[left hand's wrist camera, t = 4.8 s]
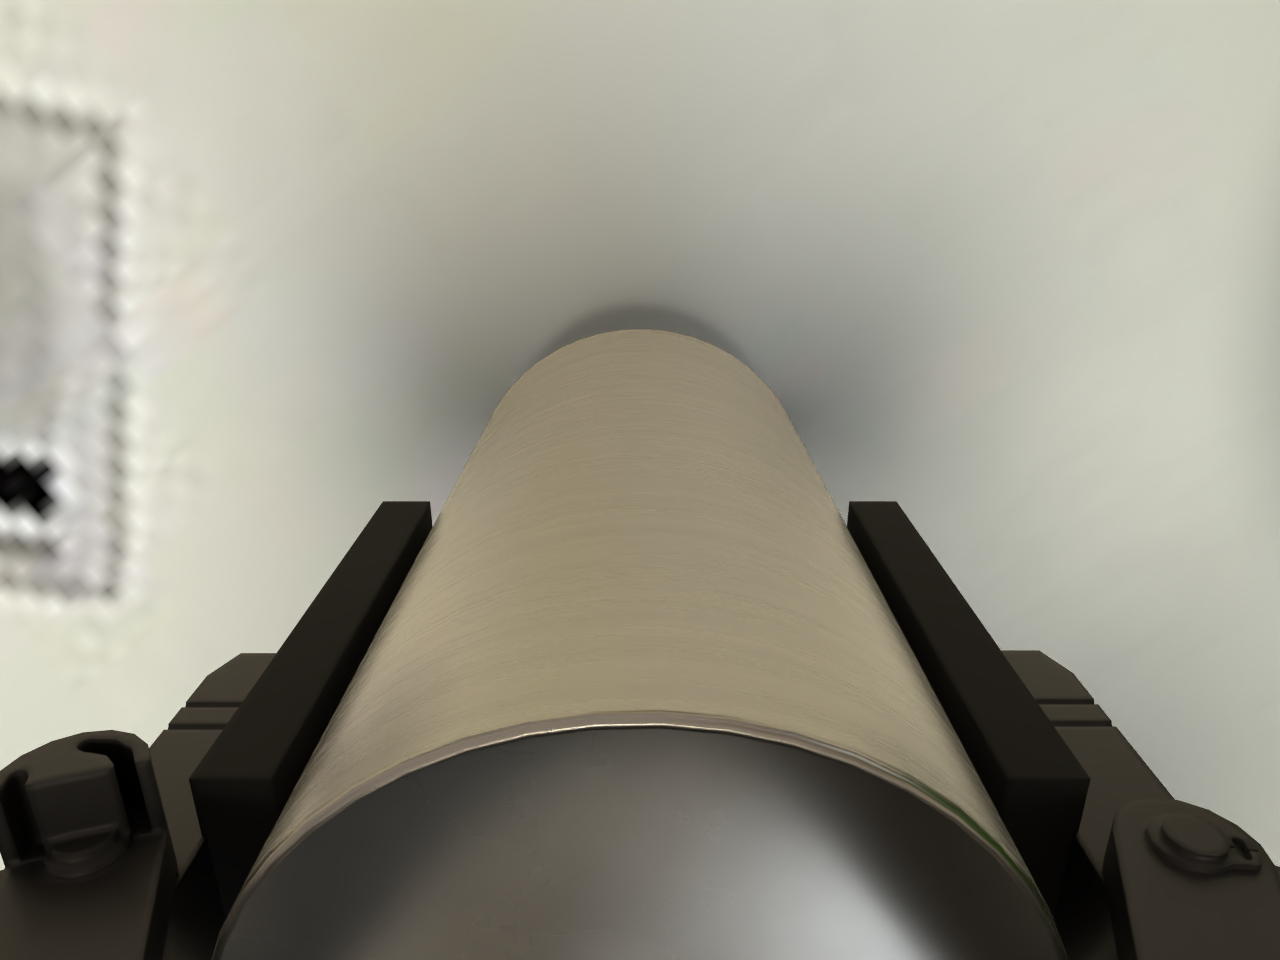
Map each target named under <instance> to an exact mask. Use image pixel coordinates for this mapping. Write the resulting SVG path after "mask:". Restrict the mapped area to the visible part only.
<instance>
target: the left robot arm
mask: <svg viewBox="0 0 1280 960" xmlns="http://www.w3.org/2000/svg"><path fill="white" fill-rule="evenodd" d="M847 528H848V530H849V532H850V534H851V536H852V538H853V539H854V541H855V543H856V545H857V547H858V549H859V551H860V553H861V555H862V556H863V558H864V560H865V562H866V564H867V566H868V568H869V570H870V572H871V573H872V575H873V577H874V579H875V581H876V583H877V585H878V587H879V589H880V590H881V592H882V594H883V596H884V598H885V600H886V602H887V604H888V606H889V607H890V609H891V611H892V613H893V615H894V617H895V619H896V621H897V623H898V624H899V626H900V628H901V630H902V632H903V634H904V636H905V638H906V640H907V641H908V643H909V645H910V647H911V649H912V651H913V653H914V655H915V657H916V658H917V660H918V662H919V664H920V666H921V668H922V670H923V672H924V674H925V675H926V677H927V679H928V681H929V683H930V685H931V687H932V689H933V691H934V692H935V694H936V696H937V698H938V700H939V702H940V704H941V706H942V708H943V709H944V711H945V713H946V715H947V717H948V719H949V721H950V723H951V725H952V726H953V728H954V730H955V732H956V734H957V736H958V738H959V740H960V742H961V743H962V745H963V747H964V749H965V751H966V753H967V755H968V757H969V759H970V760H971V762H972V764H973V766H974V768H975V770H976V772H977V774H978V776H979V777H980V779H981V781H982V783H983V785H984V787H985V789H986V791H987V793H988V794H989V796H990V798H991V800H992V802H993V804H994V806H995V808H996V810H997V811H998V813H999V815H1000V817H1001V819H1002V821H1003V823H1004V825H1005V827H1006V828H1007V830H1008V832H1009V834H1010V836H1011V838H1012V840H1013V842H1014V844H1015V845H1016V847H1017V849H1018V851H1019V853H1020V855H1021V857H1022V859H1023V861H1024V862H1025V864H1026V866H1027V868H1028V870H1029V872H1030V874H1031V876H1032V878H1033V879H1034V881H1035V883H1036V885H1037V887H1038V889H1039V891H1040V893H1041V895H1042V896H1043V898H1044V900H1045V902H1046V904H1047V906H1048V908H1049V910H1050V912H1051V913H1052V915H1053V917H1054V919H1055V922H1056V925H1057V928H1058V931H1059V933H1060V936H1061V939H1062V942H1063V945H1064V947H1065V950H1066V953H1067V956H1068V959H1069V960H1280V867H1278V866H1275V865H1274V864H1273V862H1272V861H1271V859H1270V858H1269V856H1268V855H1267V853H1266V852H1265V850H1264V849H1263V848H1262V846H1261V845H1260V844H1259V843H1258V842H1257V841H1255V840H1254V839H1253V838H1252V837H1251V836H1249V835H1248V834H1247V833H1246V832H1245V831H1243V830H1242V829H1241V828H1240V827H1239V826H1237V825H1236V824H1234V823H1232V822H1230V821H1228V820H1226V819H1224V818H1223V817H1221V816H1219V815H1217V814H1215V813H1213V812H1211V811H1209V810H1207V809H1204V808H1201V807H1198V806H1195V805H1192V804H1188V803H1185V802H1182V801H1179V800H1175V799H1174V798H1173V797H1172V796H1171V794H1170V793H1169V792H1168V791H1167V789H1166V788H1165V787H1164V786H1163V784H1162V783H1161V782H1160V781H1159V779H1158V778H1157V777H1156V776H1155V774H1154V773H1153V772H1152V771H1151V770H1150V768H1149V767H1148V766H1147V765H1146V763H1145V762H1144V761H1143V760H1142V758H1141V757H1140V756H1139V755H1138V753H1137V752H1136V751H1135V750H1134V748H1133V747H1132V746H1131V745H1130V743H1129V742H1128V741H1127V740H1126V738H1125V737H1124V736H1123V735H1122V734H1121V732H1120V731H1119V730H1118V729H1117V727H1112V724H1111V722H1112V721H1111V720H1110V719H1109V717H1108V716H1107V715H1106V714H1105V712H1104V711H1103V710H1102V709H1101V707H1100V706H1099V705H1095V704H1094V699H1093V698H1092V696H1091V695H1090V694H1089V693H1088V691H1087V690H1086V689H1085V688H1084V686H1083V685H1082V684H1081V683H1080V681H1079V680H1078V679H1077V678H1076V676H1075V675H1074V674H1073V673H1072V672H1070V671H1069V670H1067V669H1066V668H1064V667H1063V666H1061V665H1060V664H1058V663H1057V662H1055V661H1054V660H1052V659H1051V658H1049V657H1048V656H1046V655H1045V654H1043V653H1042V652H1040V651H1001V650H1000V649H999V647H998V646H997V644H996V643H995V642H994V640H993V639H992V637H991V636H990V634H989V633H988V632H987V630H986V629H985V627H984V626H983V624H982V623H981V622H980V620H979V619H978V617H977V616H976V614H975V613H974V612H973V610H972V609H971V607H970V606H969V604H968V603H967V602H966V600H965V599H964V597H963V596H962V594H961V593H960V592H959V590H958V589H957V587H956V586H955V584H954V583H953V582H952V580H951V579H950V577H949V576H948V574H947V573H946V572H945V570H944V569H943V567H942V566H941V565H940V563H939V562H938V560H937V559H936V557H935V556H934V555H933V553H932V552H931V550H930V549H929V547H928V546H927V545H926V543H925V542H924V540H923V539H922V537H921V536H920V535H919V533H918V532H917V530H916V529H915V527H914V526H913V525H912V523H911V522H910V520H909V519H908V517H907V516H906V515H905V513H904V512H903V510H902V509H901V507H900V506H899V505H898V503H897V502H849V511H848V522H847ZM431 530H432V518H431V507H430V502H382V504H381V505H380V507H379V508H378V509H377V511H376V512H375V514H374V515H373V517H372V518H371V519H370V521H369V522H368V524H367V525H366V527H365V528H364V529H363V531H362V532H361V534H360V535H359V537H358V538H357V539H356V541H355V542H354V544H353V545H352V547H351V548H350V549H349V551H348V552H347V554H346V555H345V557H344V558H343V559H342V561H341V562H340V564H339V565H338V567H337V568H336V569H335V571H334V572H333V574H332V575H331V576H330V578H329V579H328V581H327V582H326V584H325V585H324V586H323V588H322V589H321V591H320V592H319V594H318V595H317V596H316V598H315V599H314V601H313V602H312V604H311V605H310V606H309V608H308V609H307V611H306V612H305V614H304V615H303V616H302V618H301V619H300V621H299V622H298V624H297V625H296V626H295V628H294V629H293V631H292V632H291V634H290V635H289V636H288V638H287V639H286V641H285V642H284V644H283V645H282V646H281V648H280V649H279V651H278V652H277V653H241V654H239V655H238V656H236V657H235V658H233V659H232V660H230V661H229V662H227V663H226V664H224V665H223V666H221V667H220V668H218V669H217V670H215V671H214V672H212V673H211V674H209V675H208V676H207V677H206V678H205V679H204V680H203V682H202V683H201V684H200V685H199V687H198V688H197V689H196V690H195V692H194V693H193V694H192V695H191V697H190V698H189V699H188V700H187V702H186V707H185V708H181V709H180V710H179V712H178V713H177V714H176V715H175V717H174V718H173V719H172V720H171V722H170V723H169V727H168V730H163V732H162V733H161V734H160V735H159V737H158V738H157V739H156V740H155V742H154V743H153V744H152V745H151V747H150V748H149V747H148V744H147V743H145V742H144V741H143V740H141V739H140V738H139V737H138V736H136V735H135V734H131V733H126V732H120V731H115V730H106V731H95V732H84V733H80V734H76V735H73V736H69V737H66V738H62V739H58V740H55V741H51V742H49V743H47V744H45V745H43V746H41V747H39V748H37V749H35V750H32V751H30V752H28V753H26V754H24V755H22V756H20V757H19V758H17V759H16V760H15V761H13V762H12V763H11V764H9V765H8V766H6V767H5V768H4V769H2V770H1V771H0V853H1V856H2V859H3V862H4V865H5V869H4V870H1V871H0V960H211V959H212V955H213V952H214V949H215V945H216V942H217V938H218V935H219V932H220V930H221V928H222V926H223V924H224V922H225V920H226V918H227V916H228V914H229V912H230V910H231V908H232V906H233V904H234V902H235V900H236V898H237V896H238V894H239V892H240V890H241V888H242V886H243V884H244V882H245V880H246V879H247V877H248V875H249V873H250V871H251V869H252V867H253V865H254V864H255V862H256V860H257V858H258V856H259V854H260V852H261V850H262V848H263V847H264V845H265V843H266V841H267V839H268V837H269V835H270V833H271V831H272V830H273V828H274V826H275V824H276V822H277V820H278V818H279V816H280V814H281V813H282V811H283V809H284V807H285V805H286V803H287V801H288V799H289V797H290V796H291V794H292V792H293V790H294V788H295V786H296V784H297V782H298V780H299V779H300V777H301V775H302V773H303V771H304V769H305V767H306V765H307V764H308V762H309V760H310V758H311V756H312V754H313V752H314V750H315V748H316V747H317V745H318V743H319V741H320V739H321V737H322V735H323V733H324V731H325V730H326V728H327V726H328V724H329V722H330V720H331V718H332V716H333V714H334V713H335V711H336V709H337V707H338V705H339V703H340V701H341V699H342V697H343V696H344V694H345V692H346V690H347V688H348V686H349V684H350V682H351V680H352V679H353V677H354V675H355V673H356V671H357V669H358V667H359V665H360V664H361V662H362V660H363V658H364V656H365V654H366V652H367V650H368V648H369V647H370V645H371V643H372V641H373V639H374V637H375V635H376V633H377V631H378V630H379V628H380V626H381V624H382V622H383V620H384V618H385V616H386V614H387V613H388V611H389V609H390V607H391V605H392V603H393V601H394V599H395V597H396V596H397V594H398V592H399V590H400V588H401V586H402V584H403V582H404V580H405V579H406V577H407V575H408V573H409V571H410V569H411V567H412V565H413V564H414V562H415V560H416V558H417V556H418V554H419V552H420V550H421V548H422V547H423V545H424V543H425V541H426V539H427V537H428V535H429V533H430V531H431Z"/></svg>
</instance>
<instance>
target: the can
mask: <svg viewBox="0 0 1280 960" xmlns="http://www.w3.org/2000/svg"><path fill="white" fill-rule="evenodd" d="M211 960H1069V959H1068V956H1067V953H1066V950H1065V947H1064V945H1063V942H1062V939H1061V936H1060V933H1059V931H1058V928H1057V925H1056V922H1055V919H1054V917H1053V915H1052V913H1051V912H1050V910H1049V908H1048V906H1047V904H1046V902H1045V900H1044V898H1043V896H1042V895H1041V893H1040V891H1039V889H1038V887H1037V885H1036V883H1035V881H1034V879H1033V878H1032V876H1031V874H1030V872H1029V870H1028V868H1027V866H1026V864H1025V862H1024V861H1023V859H1022V857H1021V855H1020V853H1019V851H1018V849H1017V847H1016V845H1015V844H1014V842H1013V840H1012V838H1011V836H1010V834H1009V832H1008V830H1007V828H1006V827H1005V825H1004V823H1003V821H1002V819H1001V817H1000V815H999V813H998V811H997V810H996V808H995V806H994V804H993V802H992V800H991V798H990V796H989V794H988V793H987V791H986V789H985V787H984V785H983V783H982V781H981V779H980V777H979V776H978V774H977V772H976V770H975V768H974V766H973V764H972V762H971V760H970V759H969V757H968V755H967V753H966V751H965V749H964V747H963V745H962V743H961V742H960V740H959V738H958V736H957V734H956V732H955V730H954V728H953V726H952V725H951V723H950V721H949V719H948V717H947V715H946V713H945V711H944V709H943V708H942V706H941V704H940V702H939V700H938V698H937V696H936V694H935V692H934V691H933V689H932V687H931V685H930V683H929V681H928V679H927V677H926V675H925V674H924V672H923V670H922V668H921V666H920V664H919V662H918V660H917V658H916V657H915V655H914V653H913V651H912V649H911V647H910V645H909V643H908V641H907V640H906V638H905V636H904V634H903V632H902V630H901V628H900V626H899V624H898V623H897V621H896V619H895V617H894V615H893V613H892V611H891V609H890V607H889V606H888V604H887V602H886V600H885V598H884V596H883V594H882V592H881V590H880V589H879V587H878V585H877V583H876V581H875V579H874V577H873V575H872V573H871V572H870V570H869V568H868V566H867V564H866V562H865V560H864V558H863V556H862V555H861V553H860V551H859V549H858V547H857V545H856V543H855V541H854V539H853V538H852V536H851V534H850V532H849V530H848V528H847V526H846V524H845V522H844V521H843V519H842V517H841V515H840V513H839V511H838V509H837V507H836V506H835V504H834V502H833V500H832V498H831V496H830V494H829V492H828V490H827V489H826V487H825V485H824V483H823V481H822V479H821V477H820V475H819V473H818V472H817V470H816V468H815V466H814V464H813V462H812V460H811V458H810V456H809V455H808V453H807V451H806V449H805V447H804V445H803V443H802V441H801V439H800V438H799V436H798V434H797V432H796V430H795V428H794V426H793V424H792V422H791V421H790V419H789V417H788V415H787V413H786V412H785V410H784V408H783V406H782V405H781V403H780V401H779V400H778V399H777V397H776V396H775V395H774V393H773V392H772V391H771V390H770V388H769V387H768V386H767V384H766V383H765V382H764V381H763V380H762V379H761V378H759V377H758V376H757V375H756V374H755V373H754V372H753V371H752V370H751V369H750V368H749V367H747V366H746V365H745V364H743V363H742V362H741V361H739V360H738V359H737V358H735V357H734V356H732V355H730V354H729V353H727V352H725V351H723V350H721V349H720V348H718V347H716V346H714V345H712V344H709V343H707V342H704V341H701V340H699V339H696V338H694V337H690V336H686V335H682V334H678V333H674V332H669V331H660V330H651V329H632V330H619V331H613V332H606V333H601V334H597V335H594V336H590V337H587V338H583V339H580V340H578V341H575V342H573V343H571V344H569V345H566V346H564V347H562V348H559V349H558V350H556V351H555V352H553V353H551V354H550V355H548V356H546V357H545V358H543V359H541V360H540V361H539V362H537V363H536V364H535V365H534V366H533V367H531V368H530V369H529V370H528V371H526V372H525V373H524V374H523V375H522V376H521V377H520V378H519V379H518V380H517V381H516V382H515V383H514V385H513V386H512V387H511V388H510V389H509V390H508V391H507V393H506V394H505V396H504V397H503V398H502V400H501V401H500V403H499V404H498V406H497V407H496V409H495V411H494V413H493V414H492V416H491V418H490V420H489V422H488V424H487V426H486V428H485V430H484V431H483V433H482V435H481V437H480V439H479V441H478V443H477V445H476V447H475V448H474V450H473V452H472V454H471V456H470V458H469V460H468V462H467V464H466V465H465V467H464V469H463V471H462V473H461V475H460V477H459V479H458V481H457V482H456V484H455V486H454V488H453V490H452V492H451V494H450V496H449V497H448V499H447V501H446V503H445V505H444V507H443V509H442V511H441V513H440V514H439V516H438V518H437V520H436V522H435V524H434V526H433V528H432V530H431V531H430V533H429V535H428V537H427V539H426V541H425V543H424V545H423V547H422V548H421V550H420V552H419V554H418V556H417V558H416V560H415V562H414V564H413V565H412V567H411V569H410V571H409V573H408V575H407V577H406V579H405V580H404V582H403V584H402V586H401V588H400V590H399V592H398V594H397V596H396V597H395V599H394V601H393V603H392V605H391V607H390V609H389V611H388V613H387V614H386V616H385V618H384V620H383V622H382V624H381V626H380V628H379V630H378V631H377V633H376V635H375V637H374V639H373V641H372V643H371V645H370V647H369V648H368V650H367V652H366V654H365V656H364V658H363V660H362V662H361V664H360V665H359V667H358V669H357V671H356V673H355V675H354V677H353V679H352V680H351V682H350V684H349V686H348V688H347V690H346V692H345V694H344V696H343V697H342V699H341V701H340V703H339V705H338V707H337V709H336V711H335V713H334V714H333V716H332V718H331V720H330V722H329V724H328V726H327V728H326V730H325V731H324V733H323V735H322V737H321V739H320V741H319V743H318V745H317V747H316V748H315V750H314V752H313V754H312V756H311V758H310V760H309V762H308V764H307V765H306V767H305V769H304V771H303V773H302V775H301V777H300V779H299V780H298V782H297V784H296V786H295V788H294V790H293V792H292V794H291V796H290V797H289V799H288V801H287V803H286V805H285V807H284V809H283V811H282V813H281V814H280V816H279V818H278V820H277V822H276V824H275V826H274V828H273V830H272V831H271V833H270V835H269V837H268V839H267V841H266V843H265V845H264V847H263V848H262V850H261V852H260V854H259V856H258V858H257V860H256V862H255V864H254V865H253V867H252V869H251V871H250V873H249V875H248V877H247V879H246V880H245V882H244V884H243V886H242V888H241V890H240V892H239V894H238V896H237V898H236V900H235V902H234V904H233V906H232V908H231V910H230V912H229V914H228V916H227V918H226V920H225V922H224V924H223V926H222V928H221V930H220V932H219V935H218V938H217V942H216V945H215V949H214V952H213V955H212V959H211Z"/></svg>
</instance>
